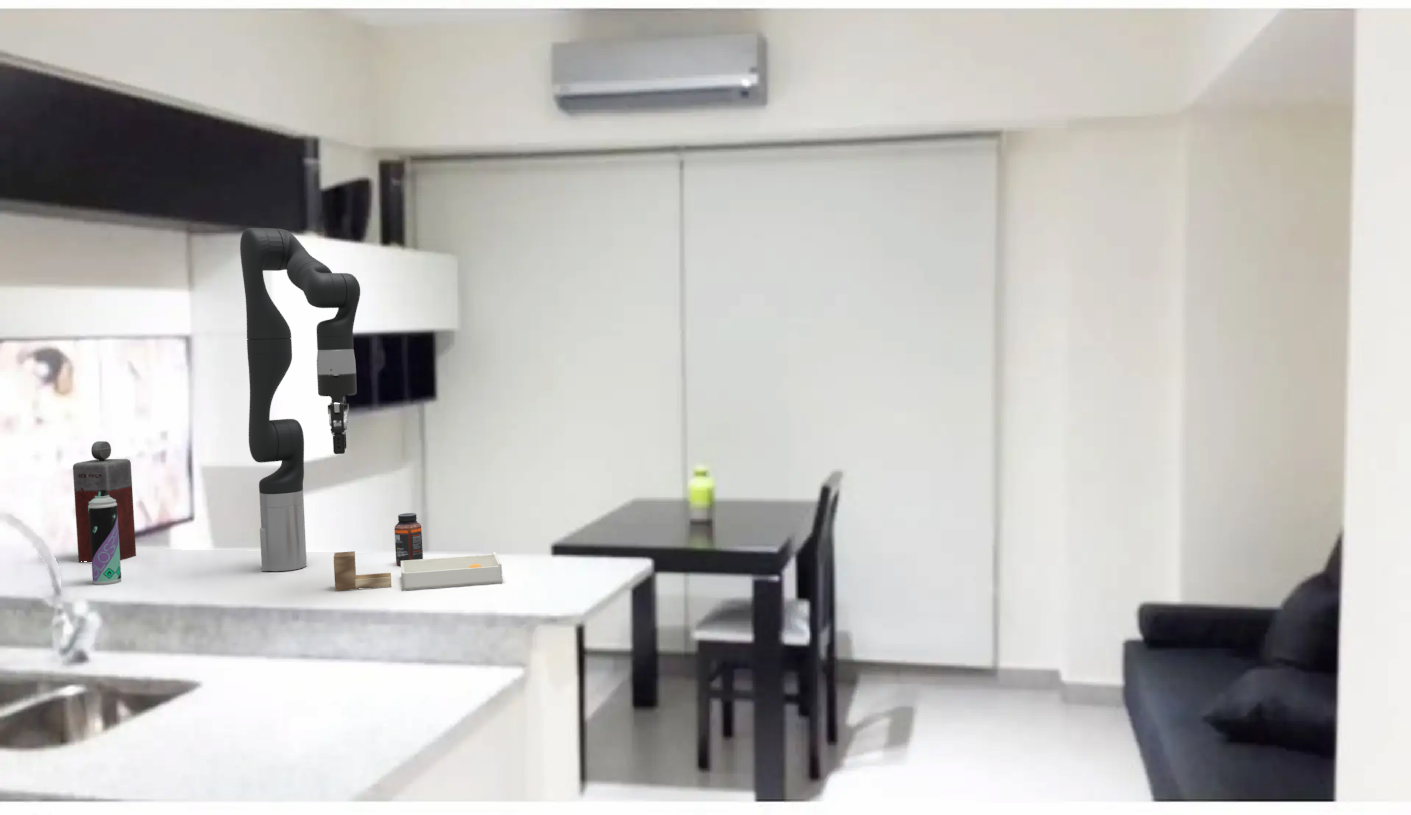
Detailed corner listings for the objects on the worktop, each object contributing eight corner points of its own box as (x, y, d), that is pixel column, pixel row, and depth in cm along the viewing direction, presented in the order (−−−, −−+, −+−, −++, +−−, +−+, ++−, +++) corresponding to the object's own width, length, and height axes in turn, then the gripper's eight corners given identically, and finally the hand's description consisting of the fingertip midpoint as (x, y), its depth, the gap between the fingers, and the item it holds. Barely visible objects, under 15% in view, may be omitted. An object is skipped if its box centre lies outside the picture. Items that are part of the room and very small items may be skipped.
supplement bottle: (426, 561, 272) (424, 511, 271) (418, 566, 266) (416, 516, 265) (401, 561, 272) (399, 512, 272) (392, 566, 266) (389, 516, 266)
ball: (466, 571, 245) (465, 561, 248) (468, 584, 247) (467, 575, 250) (483, 568, 246) (482, 559, 249) (485, 582, 247) (484, 572, 250)
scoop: (335, 591, 243) (333, 557, 242) (336, 586, 247) (334, 552, 247) (391, 586, 245) (389, 553, 245) (391, 581, 250) (389, 548, 250)
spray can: (92, 586, 253) (87, 492, 252) (92, 581, 258) (87, 489, 257) (121, 582, 256) (116, 490, 254) (121, 578, 261) (115, 487, 259)
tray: (402, 590, 242) (401, 571, 241) (401, 576, 255) (400, 558, 255) (502, 583, 247) (501, 563, 246) (496, 569, 260) (495, 551, 260)
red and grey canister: (94, 554, 289) (87, 439, 287) (136, 555, 287) (130, 439, 285) (69, 562, 281) (61, 443, 279) (112, 562, 279) (105, 443, 277)
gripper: (319, 371, 248) (322, 449, 249) (315, 373, 235) (318, 456, 236) (356, 370, 250) (360, 447, 251) (355, 372, 236) (358, 454, 238)
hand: (340, 451), depth 244 cm, fingers open, 8 cm apart
